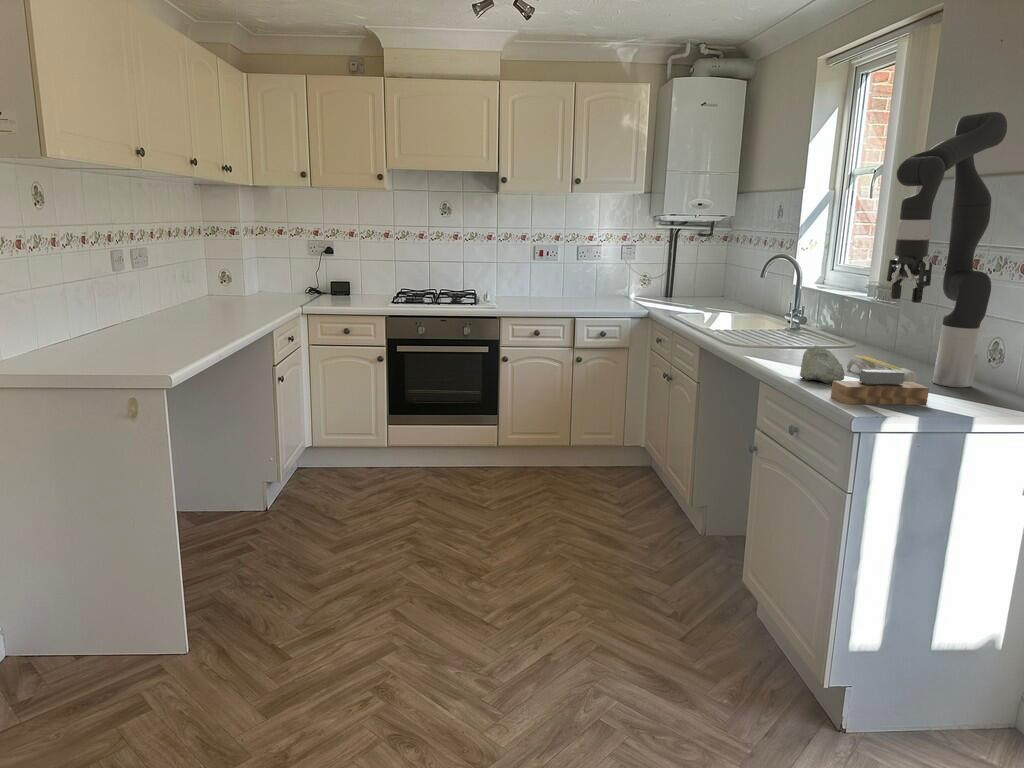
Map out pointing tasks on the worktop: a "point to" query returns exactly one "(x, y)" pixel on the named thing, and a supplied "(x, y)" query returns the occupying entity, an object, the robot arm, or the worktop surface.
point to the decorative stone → (821, 366)
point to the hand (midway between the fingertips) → (905, 300)
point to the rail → (879, 393)
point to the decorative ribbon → (881, 368)
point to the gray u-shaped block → (881, 377)
